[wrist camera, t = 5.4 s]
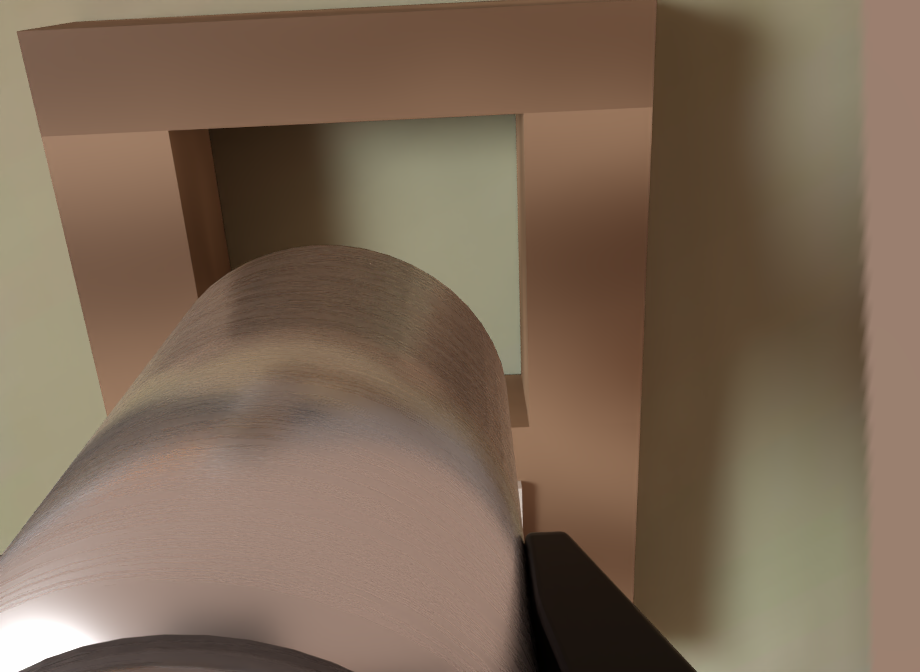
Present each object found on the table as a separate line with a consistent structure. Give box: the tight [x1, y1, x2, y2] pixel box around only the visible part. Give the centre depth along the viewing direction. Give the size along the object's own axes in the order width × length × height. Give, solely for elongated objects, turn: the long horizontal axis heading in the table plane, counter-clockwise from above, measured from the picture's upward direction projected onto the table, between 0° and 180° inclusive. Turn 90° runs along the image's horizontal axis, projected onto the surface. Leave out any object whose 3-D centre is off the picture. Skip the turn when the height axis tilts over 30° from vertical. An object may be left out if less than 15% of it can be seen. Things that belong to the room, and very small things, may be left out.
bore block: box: [17, 0, 657, 603], centre depth 19 cm, size 16×11×3 cm
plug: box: [0, 245, 539, 672], centre depth 9 cm, size 5×5×7 cm
